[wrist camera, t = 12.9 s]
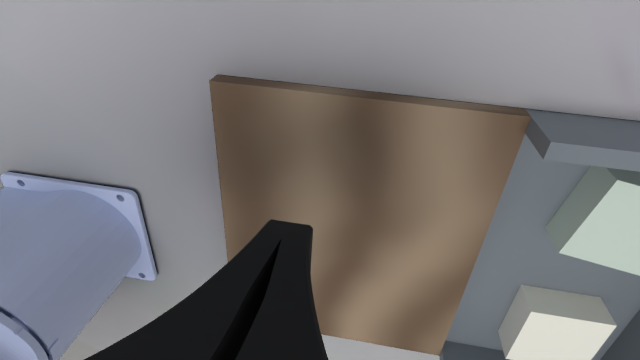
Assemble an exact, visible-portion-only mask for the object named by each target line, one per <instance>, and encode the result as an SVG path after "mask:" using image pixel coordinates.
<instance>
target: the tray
mask: <svg viewBox="0 0 640 360" xmlns="http://www.w3.org/2000/svg"><path fill="white" fill-rule="evenodd" d="M526 111H527V112H528V113H529V114H530V116H531V120H530V122H529V125H528V127H527V130H526V133H525V135H524V138H523V140H522V143H521V146H520V148H519V151H518V153H517V156H516V159H515V161H514V164H513V166H512V169H511V171H510V174H509V177H508V179H507V182H506V184H505V187H504V190H503V192H502V195H501V197H500V200H499V203H498V205H497V208H496V210H495V213H494V216H493V218H492V221H491V223H490V226H489V228H488V231H487V234H486V236H485V239H484V241H483V244H482V247H481V249H480V252H479V254H478V257H477V260H476V262H475V265H474V267H473V270H472V273H471V275H470V278H469V280H468V283H467V285H466V288H465V291H464V293H463V296H462V298H461V301H460V304H459V306H458V309H457V311H456V314H455V317H454V319H453V322H452V324H451V327H450V330H449V332H448V335H447V337H446V340H445V342H444V345H443V348H442V350H441V353H440V355H439V356H440V360H510V359H505V355H504V352H503V348H502V344H501V340H500V337H499V333H498V330H499V328H500V326H501V324H502V322H503V320H504V318H505V316H506V314H507V312H508V310H509V308H510V306H511V304H512V302H513V300H514V298H515V296H516V294H517V292H518V290H519V288H520V286H521V285H526V286H533V287H539V288H545V289H552V290H558V291H564V292H571V293H577V294H583V295H590V296H596V297H601V299H602V301H603V303H604V304H605V306H606V308H607V309H608V311H609V313H610V315H611V316H612V318H613V320H614V322H615V323H616V325H617V326H616V328H615V329H614V330H613V332H612V333H611V334H610V336H609V337H608V338H607V340H606V341H605V342H604V344H603V345H602V346H601V347H600V349H599V350H598V351H597V353H596V354H595V355H594V357H593V358H592V359H591V360H640V276H639V275H635V274H632V273H628V272H625V271H621V270H618V269H614V268H611V267H607V266H603V265H600V264H596V263H593V262H589V261H586V260H582V259H579V258H575V257H572V256H568V255H565V254H561V253H558V251H557V249H556V247H555V245H554V243H553V241H552V239H551V237H550V236H549V234H548V232H547V230H546V228H545V227H546V226H547V224H548V223H549V222H550V220H551V219H552V218H553V216H554V215H555V214H556V212H557V211H558V210H559V208H560V207H561V205H562V204H563V203H564V201H565V200H566V199H567V197H568V196H569V195H570V193H571V192H572V191H573V189H574V188H575V187H576V185H577V184H578V183H579V181H580V180H581V179H582V177H583V176H584V174H585V173H586V172H587V170H588V169H589V168H590V166H598V167H606V168H614V169H622V170H630V171H638V172H640V121H632V120H623V119H614V118H605V117H596V116H586V115H577V114H568V113H559V112H550V111H541V110H532V109H526Z"/></svg>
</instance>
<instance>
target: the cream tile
mask: <svg viewBox="0 0 640 360" xmlns="http://www.w3.org/2000/svg"><path fill="white" fill-rule="evenodd" d="M616 326H617V325H616V323H615V322H614V320H613V318H612V316H611V315H610V313H609V311H608V309H607V308H606V306H605V304H604V303H603V301H602V299H601V297H596V296H590V295H583V294H577V293H571V292H564V291H558V290H552V289H545V288H539V287H533V286H526V285H521V286H520V288H519V290H518V292H517V294H516V296H515V298H514V300H513V302H512V304H511V306H510V308H509V310H508V312H507V314H506V316H505V318H504V320H503V322H502V324H501V326H500V328H499V330H498V333H499V337H500V340H501V344H502V348H503V352H504V355H505V359H510V360H591V359H592V358H593V357H594V355H595V354H596V353H597V351H598V350H599V349H600V347H601V346H602V345H603V344H604V342H605V341H606V340H607V338H608V337H609V336H610V334H611V333H612V332H613V330H614V329H615V328H616Z"/></svg>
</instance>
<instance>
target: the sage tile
mask: <svg viewBox="0 0 640 360" xmlns="http://www.w3.org/2000/svg"><path fill="white" fill-rule="evenodd" d="M545 228H546V230H547V232H548V234H549V236H550V237H551V239H552V241H553V243H554V245H555V247H556V249H557V251H558V253H561V254H565V255H568V256H572V257H575V258H579V259H582V260H586V261H589V262H593V263H596V264H600V265H603V266H607V267H611V268H614V269H618V270H621V271H625V272H628V273H632V274H635V275H639V276H640V172H638V171H630V170H622V169H614V168H606V167H598V166H590V168H589V169H588V170H587V172H586V173H585V174H584V176H583V177H582V179H581V180H580V181H579V183H578V184H577V185H576V187H575V188H574V189H573V191H572V192H571V193H570V195H569V196H568V197H567V199H566V200H565V201H564V203H563V204H562V205H561V207H560V208H559V210H558V211H557V212H556V214H555V215H554V216H553V218H552V219H551V220H550V222H549V223H548V224H547V226H546V227H545Z"/></svg>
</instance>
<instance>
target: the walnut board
mask: <svg viewBox="0 0 640 360" xmlns="http://www.w3.org/2000/svg"><path fill="white" fill-rule="evenodd" d="M209 82H210V91H211V101H212V111H213V121H214V130H215V140H216V150H217V160H218V169H219V179H220V189H221V199H222V208H223V218H224V228H225V238H226V247H227V257H228V262H229V261H230V260H231V259H232V258H233V257H234V256H235V255H236V254H237V253H239V252H240V251H241V250H242V249H243V248H244V247H245V246H246V245H247V244H248V243H249V242H250V240H251V239H252V238H253V237H254V236H255V235H256V234H257V233H258V232H259V231H260V230H261V229H262V228H263V226H264V225H265V224H266V223H267V222H268V221H269V220H271V219H272V220H279V221H286V222H292V223H299V224H306V225H310V226H311V227H312V228H313V240H312V257H311V272H310V273H311V284H312V291H313V297H314V304H315V309H316V314H317V319H318V323H319V328H320V332H321V334H323V335H328V336H334V337H340V338H345V339H351V340H356V341H362V342H367V343H373V344H378V345H384V346H389V347H395V348H400V349H406V350H412V351H417V352H423V353H428V354H434V355H440V353H441V350H442V348H443V345H444V342H445V340H446V337H447V335H448V332H449V330H450V327H451V324H452V322H453V319H454V317H455V314H456V311H457V309H458V306H459V304H460V301H461V298H462V296H463V293H464V291H465V288H466V285H467V283H468V280H469V278H470V275H471V273H472V270H473V267H474V265H475V262H476V260H477V257H478V254H479V252H480V249H481V247H482V244H483V241H484V239H485V236H486V234H487V231H488V228H489V226H490V223H491V221H492V218H493V216H494V213H495V210H496V208H497V205H498V203H499V200H500V197H501V195H502V192H503V190H504V187H505V184H506V182H507V179H508V177H509V174H510V171H511V169H512V166H513V164H514V161H515V159H516V156H517V153H518V151H519V148H520V146H521V143H522V140H523V138H524V135H525V133H526V130H527V127H528V125H529V122H530V120H531V116H530V114H529V113H528V112H527V111H526V109H523V108H514V107H505V106H496V105H487V104H478V103H469V102H460V101H451V100H442V99H433V98H424V97H415V96H406V95H397V94H388V93H379V92H369V91H360V90H351V89H342V88H333V87H324V86H315V85H306V84H297V83H288V82H279V81H270V80H261V79H252V78H243V77H234V76H225V75H216V76H215V77H214V78H212V79H211V80H210V81H209Z"/></svg>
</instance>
